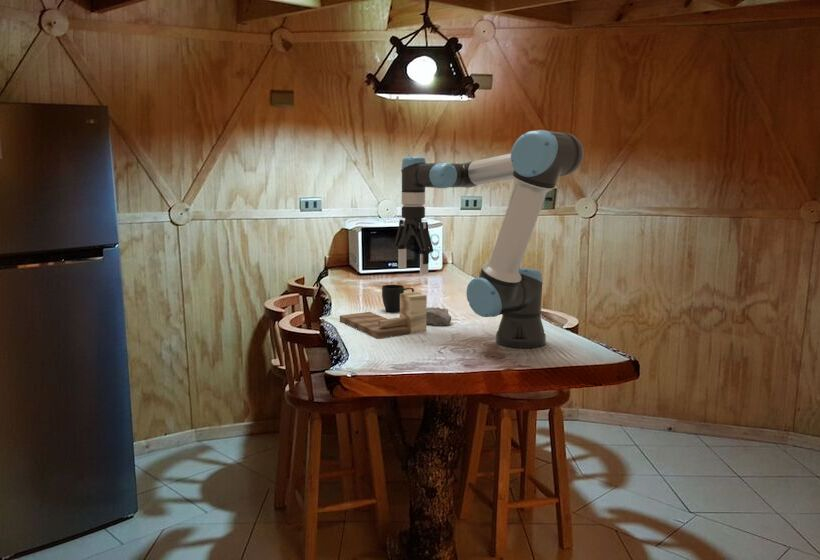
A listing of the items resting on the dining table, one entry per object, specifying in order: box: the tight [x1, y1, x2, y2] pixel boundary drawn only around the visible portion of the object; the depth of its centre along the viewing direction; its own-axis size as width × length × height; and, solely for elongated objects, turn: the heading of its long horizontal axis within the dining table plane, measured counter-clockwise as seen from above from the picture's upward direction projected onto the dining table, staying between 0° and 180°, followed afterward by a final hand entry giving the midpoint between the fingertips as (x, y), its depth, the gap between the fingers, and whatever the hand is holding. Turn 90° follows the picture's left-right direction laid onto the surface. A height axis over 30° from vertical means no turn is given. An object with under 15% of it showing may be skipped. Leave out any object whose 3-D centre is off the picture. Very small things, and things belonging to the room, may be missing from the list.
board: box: [339, 311, 411, 339], centre depth 210 cm, size 28×12×2 cm, turn 31°
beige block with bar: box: [378, 291, 428, 334], centre depth 203 cm, size 7×16×12 cm, turn 121°
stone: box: [426, 306, 452, 327], centre depth 215 cm, size 10×8×6 cm
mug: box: [381, 284, 415, 314], centre depth 235 cm, size 8×12×10 cm
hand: (412, 271), depth 204 cm, fingers open, 13 cm apart
